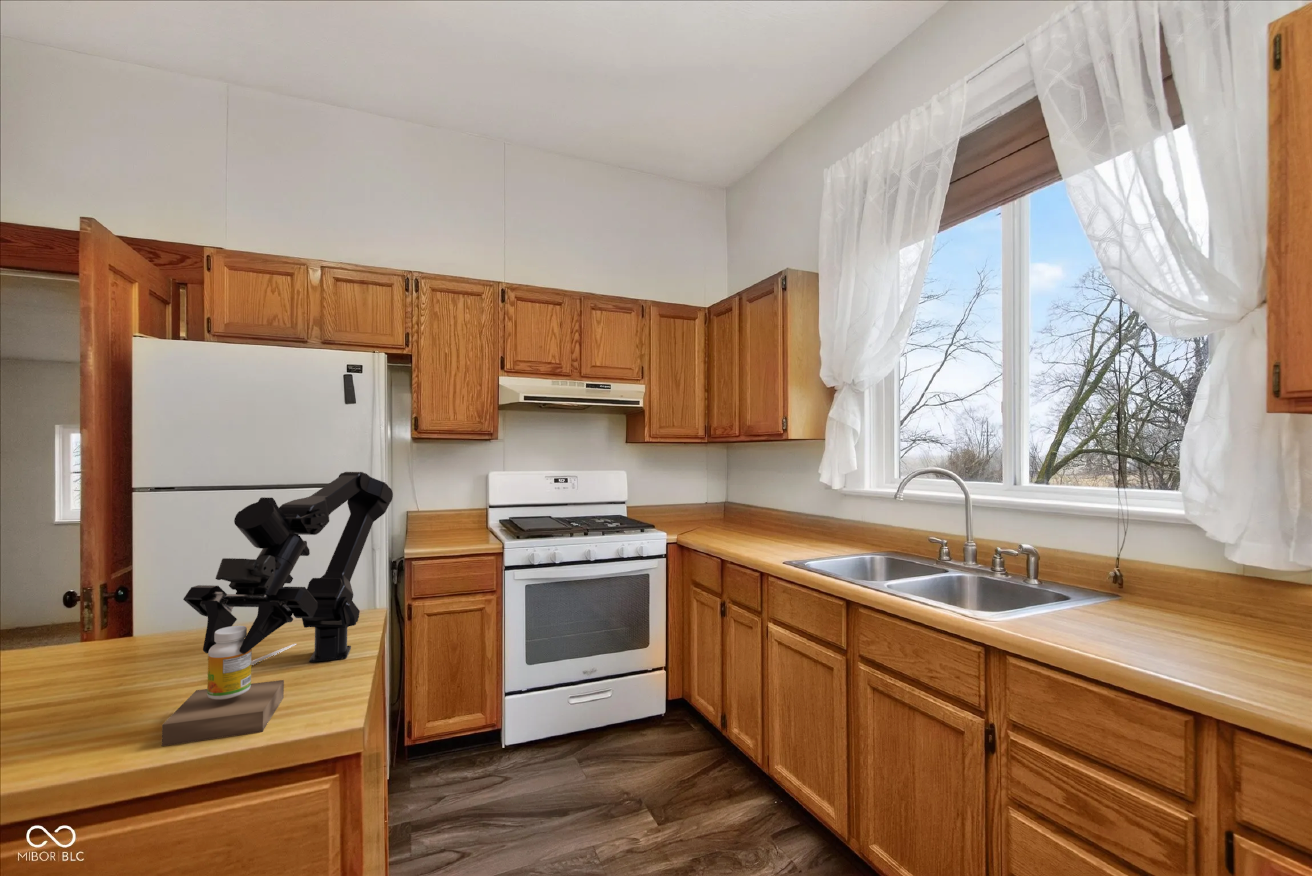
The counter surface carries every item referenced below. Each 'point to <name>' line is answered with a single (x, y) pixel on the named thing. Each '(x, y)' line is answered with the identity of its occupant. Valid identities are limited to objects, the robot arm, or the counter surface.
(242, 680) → the supplement bottle
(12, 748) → the counter surface
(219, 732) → the walnut base
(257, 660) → the fork
